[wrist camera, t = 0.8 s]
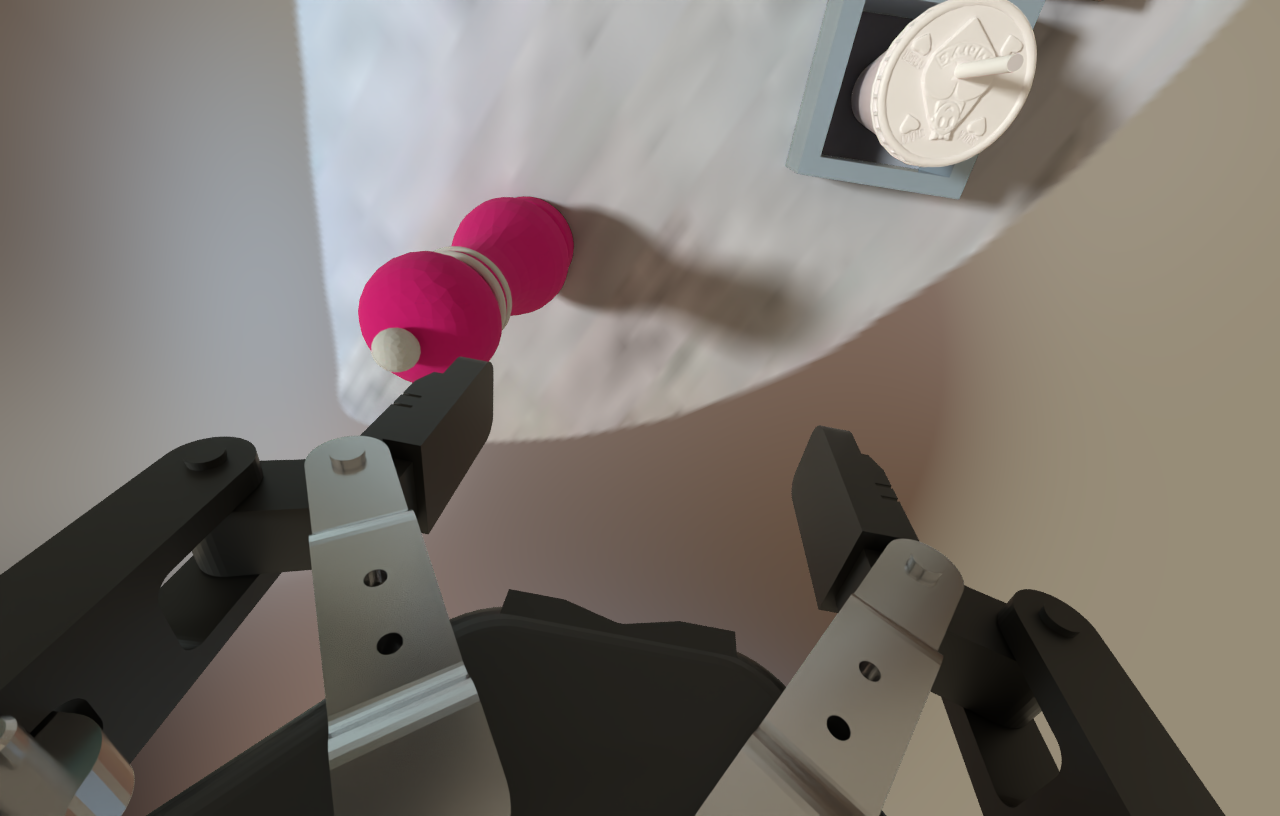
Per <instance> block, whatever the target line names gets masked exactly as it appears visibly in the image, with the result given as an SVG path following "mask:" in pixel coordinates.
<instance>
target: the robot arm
mask: <svg viewBox="0 0 1280 816" xmlns="http://www.w3.org/2000/svg"><path fill="white" fill-rule="evenodd" d="M492 421H493V365H492V363H491V362H487V361H482V360H477V359H472V358H466V357H458V358H457V359H456V360H455V361H454V362H453V363H452V364H451V365H450V366H449V368H448V369H447V370H446V371H445V372H444V373H438V372H433V373H431V374H428V375H426V376H424V377H422V378H420V379H417V380H415V381H414V382H413V383H412V384H411V385H410V386H409V387H408V388H407V389H406V390H405V391H404V394H403V395H400V396H399V397H398V398H397V399H396V400H395V401H394V404H393V405H392V404H391V405H390V406H389V407H388V408H387V409H386V410H385V411H384V412H383V413H382V414H381V415H380V416H379V417H378V418H377V419H376V420H375V421H374V422H373V423H372V424H371V425H370V426H369V427H368V428H367V429H366V430H365V431H364V432H363V433H362V434H361V435H360V436H347V437H341V438H337V439H334V440H330V441H328V442H326V443H323V444H321V445H320V446H318V447H316V448H315V449H314V450H313V451H311V452H310V454H309V455H308V456H307V458H306V459H303V460H271V461H259V458H258V454H257V451H256V448H255V447H254V445H253V444H252V443H250V442H249V441H247V440H244V439H241V438H236V437H212V438H206V439H202V440H197V441H194V442H191V443H188V444H185V445H182V446H180V447H178V448H176V449H174V450H172V451H171V452H169V453H167V454H166V455H164V456H163V457H162V458H161V459H159V460H158V461H156V462H155V463H154V464H152V465H151V466H149V467H148V468H147V469H145V470H144V471H142V472H141V473H140V474H138V475H137V476H136V477H134V478H133V479H131V480H130V481H129V482H128V483H126V484H125V485H123V486H122V487H120V488H119V489H118V490H116V491H115V492H114V493H112V494H111V495H110V496H108V497H107V498H105V499H104V500H103V501H101V502H100V503H99V504H97V505H96V506H94V507H93V508H92V509H91V510H89V511H88V512H86V513H85V514H83V515H82V516H81V517H79V518H78V519H77V520H75V521H74V522H73V523H71V524H70V525H68V526H67V527H66V528H64V529H63V530H61V531H60V532H59V533H57V534H56V535H55V536H53V537H52V538H51V539H49V540H48V541H46V542H45V543H44V544H42V545H41V546H40V547H38V548H37V549H35V550H34V551H33V552H31V553H30V554H29V555H27V556H26V557H25V558H23V559H22V560H20V561H19V562H18V563H16V564H15V565H14V566H12V567H11V568H10V569H8V570H7V571H5V572H4V573H2V574H1V575H0V816H121V815H122V814H123V812H124V811H125V809H126V807H127V805H128V803H129V800H130V798H131V795H132V792H133V788H134V779H135V778H134V773H133V769H132V767H131V766H130V763H131V762H132V761H133V759H134V758H135V757H136V756H137V754H138V753H139V752H140V751H141V749H142V748H143V747H144V745H145V744H146V743H147V742H148V741H149V739H150V738H151V737H152V735H153V734H154V733H155V732H156V730H157V729H158V728H159V727H160V725H161V724H162V723H163V721H164V720H165V719H166V718H167V716H168V715H169V714H170V713H171V711H172V710H173V709H174V708H175V706H176V705H177V704H178V702H179V701H180V700H181V699H182V698H183V696H184V695H185V694H186V693H187V691H188V690H189V689H190V687H191V686H192V685H193V684H194V682H195V681H196V680H197V679H198V677H199V676H200V675H201V674H202V672H203V671H204V670H205V669H206V667H207V666H208V665H209V664H210V662H211V661H212V660H213V658H214V657H215V656H216V655H217V653H218V652H219V651H220V650H221V648H222V647H223V646H224V645H225V643H226V642H227V641H228V640H229V638H230V637H231V636H232V634H233V633H234V632H235V630H236V629H237V628H238V627H239V625H240V624H241V623H242V622H243V621H244V619H245V618H246V617H247V616H248V614H249V613H250V612H251V611H252V609H253V608H254V607H255V605H256V604H257V603H258V602H259V600H260V599H261V598H262V597H263V595H264V594H265V593H266V591H267V590H268V589H269V588H270V586H271V585H272V584H273V583H274V581H275V580H276V579H277V578H278V576H279V575H280V574H281V573H282V572H289V571H301V570H312V576H313V585H314V595H315V603H316V613H317V622H318V632H319V641H320V651H321V660H322V670H323V678H324V687H325V699H324V700H322V701H321V702H319V703H318V704H316V705H315V706H313V707H312V708H310V709H308V710H307V711H305V712H304V713H303V714H301V715H300V716H298V717H296V718H295V719H293V720H292V721H290V722H289V723H287V724H286V725H284V726H282V727H281V728H279V729H278V730H276V731H275V732H273V733H272V734H270V735H269V736H267V737H266V738H264V739H263V740H261V741H259V742H258V743H257V744H255V745H254V746H252V747H250V748H249V749H247V750H246V751H244V752H243V753H241V754H240V755H238V756H237V757H235V758H234V759H232V760H230V761H229V762H227V763H226V764H224V765H223V766H221V767H220V768H218V769H217V770H215V771H214V772H212V773H211V774H209V775H207V776H206V777H204V778H203V779H201V780H200V781H198V782H197V783H195V784H194V785H192V786H191V787H189V788H188V789H186V790H184V791H183V792H181V793H180V794H179V795H177V796H175V797H174V798H172V799H171V800H169V801H168V802H166V803H165V804H163V805H162V806H160V807H158V808H157V809H156V810H154V811H152V812H151V813H149V814H148V815H146V816H886V815H885V814H884V812H883V811H882V808H883V805H884V803H885V800H886V798H887V795H888V793H889V791H890V788H891V786H892V783H893V781H894V778H895V776H896V773H897V771H898V768H899V766H900V764H901V761H902V759H903V756H904V754H905V752H906V749H907V747H908V744H909V742H910V739H911V737H912V734H913V732H914V730H915V727H916V724H917V722H918V720H919V717H920V715H921V712H922V710H923V708H924V705H925V703H926V700H927V698H928V695H929V693H930V691H931V692H933V693H935V694H937V695H939V696H941V697H942V700H943V703H944V706H945V709H946V712H947V714H948V717H949V720H950V723H951V726H952V729H953V731H954V734H955V737H956V740H957V742H958V745H959V748H960V751H961V754H962V756H963V759H964V762H965V765H966V768H967V771H968V773H969V776H970V779H971V782H972V785H973V788H974V790H975V793H976V796H977V799H978V802H979V805H980V807H981V810H982V813H983V816H1225V814H1224V813H1223V812H1222V810H1221V809H1220V807H1219V806H1218V804H1217V803H1216V801H1215V800H1214V799H1213V797H1212V796H1211V794H1210V793H1209V791H1208V790H1207V789H1206V788H1205V786H1204V784H1203V783H1202V781H1201V780H1200V779H1199V777H1198V776H1197V774H1196V773H1195V771H1194V770H1193V768H1192V767H1191V766H1190V764H1189V763H1188V761H1187V760H1186V758H1185V757H1184V756H1183V754H1182V753H1181V751H1180V750H1179V748H1178V747H1177V746H1176V744H1175V743H1174V741H1173V740H1172V738H1171V737H1170V736H1169V734H1168V733H1167V731H1166V730H1165V728H1164V727H1163V725H1162V724H1161V723H1160V721H1159V720H1158V718H1157V717H1156V715H1155V714H1154V712H1153V711H1152V710H1151V708H1150V707H1149V705H1148V704H1147V702H1146V701H1145V700H1144V698H1143V697H1142V696H1141V694H1140V692H1139V691H1138V690H1137V688H1136V687H1135V685H1134V684H1133V683H1132V681H1131V679H1130V678H1129V677H1128V675H1127V674H1126V672H1125V671H1124V669H1123V668H1122V667H1121V665H1120V664H1119V662H1118V661H1117V659H1116V658H1115V657H1114V655H1113V654H1112V652H1111V651H1110V649H1109V648H1108V646H1107V645H1106V644H1105V642H1104V641H1103V640H1102V638H1101V636H1100V635H1099V634H1098V632H1097V631H1096V630H1095V628H1094V627H1093V626H1092V625H1091V624H1090V623H1089V622H1088V621H1087V619H1085V618H1084V617H1083V616H1082V615H1081V614H1080V613H1078V612H1077V611H1076V610H1075V609H1073V608H1072V607H1070V606H1069V605H1068V604H1066V603H1064V602H1063V601H1061V600H1059V599H1057V598H1055V597H1053V596H1051V595H1049V594H1046V593H1044V592H1040V591H1037V590H1031V589H1028V590H1027V589H1024V590H1020V591H1018V592H1016V593H1015V595H1014V596H1013V597H1012V598H1011V599H1010V600H1009V601H1008V603H1004V602H1002V601H999V600H997V599H995V598H992V597H990V596H988V595H985V594H983V593H981V592H978V591H976V590H973V589H971V588H969V587H967V586H965V585H964V581H963V578H962V576H961V574H960V572H959V571H958V569H957V568H956V566H955V565H954V564H953V563H952V562H951V561H950V560H949V559H948V558H947V557H946V556H944V555H943V554H942V553H940V552H939V551H937V550H936V549H934V548H932V547H930V546H928V545H926V544H924V543H921V542H919V540H918V538H917V536H916V534H915V532H914V530H913V528H912V526H911V524H910V522H909V520H908V518H907V516H906V514H905V512H904V510H903V508H902V506H901V504H900V502H897V499H898V498H897V496H896V494H895V492H894V490H893V489H891V484H890V482H889V480H888V478H887V476H886V475H885V472H884V470H883V469H882V468H881V467H880V466H878V465H877V463H876V462H875V461H874V460H873V459H872V458H870V457H869V455H864V454H861V452H860V450H859V448H858V446H857V444H856V441H855V439H854V437H853V435H852V433H851V432H850V431H846V430H840V429H835V428H830V427H825V426H817V427H816V428H815V429H814V431H813V432H812V435H811V437H810V439H809V442H808V444H807V447H806V449H805V451H804V454H803V456H802V458H801V461H800V463H799V466H798V468H797V470H796V473H795V475H794V479H793V483H792V501H793V505H794V509H795V513H796V517H797V521H798V526H799V530H800V534H801V538H802V542H803V546H804V550H805V555H806V558H807V563H808V567H809V571H810V576H811V579H812V584H813V588H814V592H815V596H816V601H817V605H818V609H819V610H825V611H830V612H836V613H838V614H837V616H836V617H835V619H834V620H833V621H832V623H831V624H830V626H829V627H828V629H827V630H826V631H825V633H824V634H823V636H822V637H821V639H820V640H819V641H818V643H817V644H816V646H815V647H814V649H813V650H812V651H811V653H810V654H809V656H808V657H807V659H806V660H805V661H804V663H803V664H802V666H801V667H800V669H799V670H798V671H797V673H796V674H795V676H794V677H793V679H792V680H791V681H790V683H789V684H788V686H787V687H785V685H784V684H783V683H782V682H781V681H780V680H779V679H777V678H776V677H775V676H774V675H773V674H772V673H770V672H769V671H768V670H767V669H765V668H764V667H763V666H761V665H760V664H758V663H757V662H755V661H754V660H752V659H750V658H749V657H747V656H745V655H743V654H741V653H739V652H737V651H736V641H735V640H736V639H735V632H733V631H729V630H723V629H718V628H713V627H707V626H702V625H697V624H691V623H686V622H681V621H675V622H658V623H657V622H656V623H636V624H621V623H617V622H614V621H612V620H609V619H607V618H605V617H603V616H600V615H598V614H595V613H593V612H591V611H589V610H587V609H585V608H582V607H580V606H578V605H576V604H573V603H571V602H569V601H567V600H564V599H559V598H553V597H548V596H543V595H538V594H532V593H527V592H521V591H516V590H511V589H509V591H508V594H507V596H506V599H505V601H504V604H503V607H493V608H487V609H480V610H476V611H473V612H469V613H465V614H463V615H460V616H458V617H455V618H452V619H450V620H449V617H448V614H447V611H446V608H445V605H444V602H443V599H442V595H441V592H440V589H439V586H438V583H437V580H436V577H435V574H434V571H433V568H432V565H431V561H430V559H429V555H428V552H427V549H426V546H425V543H424V540H423V537H422V534H421V533H425V534H429V533H430V531H431V529H432V528H433V526H434V525H435V523H436V521H437V520H438V518H439V517H440V515H441V513H442V512H443V510H444V508H445V507H446V505H447V503H448V502H449V500H450V499H451V497H452V496H453V494H454V492H455V490H456V489H457V487H458V486H459V484H460V482H461V481H462V479H463V478H464V476H465V474H466V473H467V471H468V470H469V468H470V466H471V465H472V463H473V461H474V460H475V458H476V457H477V455H478V453H479V452H480V450H481V449H482V447H483V445H484V444H485V442H486V440H487V438H488V436H489V434H490V430H491V426H492ZM191 551H192V553H193V556H192V557H191V558H190V559H189V560H188V561H187V562H186V563H185V564H184V565H183V566H182V567H181V568H180V569H179V570H178V571H177V572H176V573H175V574H174V575H173V576H172V577H171V578H170V579H169V580H168V581H167V582H166V583H165V584H164V585H163V586H162V587H161V585H162V582H163V581H164V579H165V578H166V576H167V575H168V574H169V573H170V571H172V570H173V568H175V567H176V566H177V565H178V564H179V563H180V562H181V561H182V560H183V559H184V558H185V557H186V556H187V555H188V554H189V553H190V552H191ZM160 587H161V588H160ZM1041 711H1042V712H1043V714H1044V716H1045V718H1046V720H1047V722H1048V724H1049V726H1050V728H1051V730H1052V732H1053V733H1054V735H1055V737H1056V739H1057V742H1058V744H1059V746H1060V750H1061V756H1062V765H1061V770H1060V772H1059V770H1058V768H1057V766H1056V764H1055V762H1054V759H1053V757H1052V755H1051V753H1050V751H1049V749H1048V747H1047V745H1046V743H1045V741H1044V739H1043V737H1042V735H1041V733H1040V731H1039V729H1038V727H1037V725H1036V723H1035V721H1034V719H1033V718H1034V717H1035V716H1037V715H1038V714H1039V713H1040V712H1041Z"/></svg>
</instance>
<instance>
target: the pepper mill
mask: <svg viewBox="0 0 1280 816" xmlns="http://www.w3.org/2000/svg"><path fill="white" fill-rule="evenodd" d="M573 249H574V243H573V236H572V233H571V230H570V227H569V225H568V223H567V222H566V220H565V218H564V217H563V216H562V214H561V213H560V212H559V211H558V210H557V209H556V208H555V207H553V206H552V205H550V204H549V203H547V202H545V201H543V200H541V199H538V198H534V197H517V198H513V197H501V198H495V199H491V200H488V201H486V202H484V203H482V204H480V205H479V206H477V207H476V208H475V209H473V210H472V211H471V212H470V213H469V214H468V215H466V217H465V218H464V219H463V220H462V222H461V223H460V225H459V227H458V229H457V231H456V233H455V236H454V239H453V242H452V246H451V247H444V248H440V249H437V250H435V251H433V252H431V251H420V252H410V253H407V254H404V255H401V256H399V257H396V258H393V259H391V260H390V261H388V262H387V263H386V264H384V265H383V266H381V267H380V268H379V269H378V270H377V271H376V272H375V273H374V274H373V275H372V277H371V278H370V279H369V281H368V282H367V283H366V285H365V287H364V290H363V292H362V295H361V297H360V301H359V309H358V315H359V323H360V327H361V331H362V335H363V337H364V339H365V341H366V343H367V345H368V347H369V348H370V350H371V354H372V356H373V358H374V360H375V362H376V363H377V364H378V365H379V366H380V367H382V368H383V369H385V370H387V371H390V372H392V373H393V374H395V375H397V376H399V377H401V378H402V379H404V380H407V381H410V382H412V383H413V382H414V381H415V380H417V379H420V378H422V377H424V376H426V375H428V374H431V373H433V372H438V373H444V372H445V371H446V370H447V369H448V368H449V366H450V365H451V364H452V363H453V362H454V361H455V360H456V359H457V358H458V357H466V358H472V359H477V360H482V361H487V362H489V360H490V359H491V358H492V356H493V355H494V353H495V351H496V349H497V347H498V345H499V341H500V338H501V332H502V330H503V329H504V328H505V326H506V325H507V323H508V321H509V318H510V316H513V315H521V314H525V313H529V312H533V311H535V310H537V309H540V308H541V307H543V306H544V305H546V304H547V303H548V302H550V301H551V300H552V299H553V298H554V297H555V296H556V295H557V294H558V293H559V291H560V290H561V288H562V286H563V284H564V282H565V280H566V276H567V273H568V267H569V265H570V263H571V261H572V257H573Z"/></svg>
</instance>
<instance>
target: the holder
mask: <svg viewBox="0 0 1280 816" xmlns="http://www.w3.org/2000/svg"><path fill="white" fill-rule="evenodd" d="M945 1H947V0H828V2H827V6H826V10H825V14H824V18H823V22H822V26H821V30H820V33H819V37H818V41H817V45H816V49H815V53H814V57H813V61H812V64H811V68H810V72H809V76H808V80H807V84H806V88H805V92H804V95H803V99H802V103H801V107H800V111H799V115H798V119H797V123H796V126H795V130H794V134H793V138H792V142H791V146H790V150H789V154H788V158H787V161H786V165H785V166H786V167H787V168H789V169H790V170H792V171H794V172H795V173H797V174H802V175H808V176H814V177H821V178H827V179H833V180H840V181H846V182H852V183H858V184H865V185H871V186H877V187H884V188H890V189H896V190H902V191H909V192H915V193H921V194H927V195H934V196H940V197H946V198H953V199H960V196H961V194H962V192H963V189H964V187H965V185H966V182H967V180H968V178H969V175H970V173H971V171H972V169H973V166H974V164H975V162H976V159H977V157H978V155H979V153H978V154H977V155H975V156H973V157H971V158H969V159H967V160H964V161H962V162H959V163H956V164H953V165H948V166H942V167H919V169H913V168H907V167H900V166H894V165H888V164H881V163H875V162H869V161H862V160H856V159H850V158H844V157H837V156H831V155H825V154H821V153H822V150H823V146H824V143H825V139H826V136H827V132H828V129H829V125H830V122H831V118H832V115H833V111H834V108H835V104H836V101H837V98H838V94H839V91H840V87H841V84H842V80H843V77H844V73H845V70H846V66H847V63H848V59H849V56H850V52H851V49H852V46H853V42H854V39H855V35H856V32H857V28H858V25H859V21H860V18H861V14H862V11H864V12H871V13H877V14H884V15H890V16H897V17H903V18H910V19H916V18H917V17H918V16H920V15H921V14H922V13H924V12H925V11H926V10H928V9H929V8H931V7H933V6H936V5H938V4H940V3H943V2H945ZM1008 1H1010V2H1011V3H1013V4H1014V5H1015V6H1017V7H1018V8H1019V9H1020V10H1021V11H1022V12H1023V14H1024V15H1025V16H1026V18H1027V19H1028V21H1029V23H1030V25H1031V27H1032V30H1033V28H1034V26H1035V23H1036V21H1037V19H1038V16H1039V14H1040V12H1041V10H1042V7H1043V5H1044V3H1045V0H1008Z"/></svg>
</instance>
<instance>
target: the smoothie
mask: <svg viewBox="0 0 1280 816" xmlns="http://www.w3.org/2000/svg"><path fill="white" fill-rule="evenodd" d="M1036 63H1037V48H1036V41H1035V36H1034V33H1033V30H1032V27H1031V25H1030V23H1029V21H1028V19H1027V18H1026V16H1025V15H1024V14H1023V12H1022V11H1021V10H1020V9H1019V8H1018V7H1017V6H1015V5H1014V4H1013V3H1011V2H1010V1H1008V0H947V1H945V2H943V3H940V4H938V5H936V6H933V7H931V8H929V9H928V10H926V11H925V12H924V13H922V14H921V15H920V16H918V17H917V18H916V19H914V20H913V21H911V22H910V23H909V24H908V25H907V26H906V27H905V28H904V30H903V31H902V32H901V33H900V34H899V35H898V36H897V37H896V39H895V40H894V41H893V42H892V44H891V45H890V47H889V49H888V50H887V51H885V52H884V53H883V54H882V55H880V56H879V57H878V58H877V59H876V60H874V61H873V62H872V63H871V64H869V65H868V66H867V67H866V68H865V69H864V70H863V71H862V72H861V74H860V75H859V77H858V78H857V80H856V82H855V85H854V87H853V91H852V96H851V106H852V111H853V113H854V116H855V117H856V119H857V120H858V121H859V122H860V123H861V124H862V125H863V126H865V127H866V128H867V129H869V130H870V131H872V132H873V133H874V134H876V135H877V137H878V140H879V142H880V144H881V145H882V146H883V147H884V148H885V149H886V150H887V151H888V153H889V154H890V155H891V156H892V157H894V158H896V159H898V160H900V161H902V162H903V163H905V164H908V165H914V166H919V167H942V166H948V165H953V164H956V163H959V162H962V161H964V160H967V159H969V158H971V157H973V156H975V155H977V154H978V153H980V152H982V151H983V150H984V149H986V148H987V147H989V146H990V145H991V144H992V143H993V142H995V141H996V140H997V139H998V138H999V137H1000V136H1001V135H1002V134H1003V133H1004V132H1005V131H1006V130H1007V129H1008V127H1009V126H1010V125H1011V124H1012V122H1013V121H1014V120H1015V118H1016V117H1017V115H1018V114H1019V112H1020V110H1021V109H1022V107H1023V105H1024V103H1025V101H1026V99H1027V97H1028V94H1029V92H1030V89H1031V86H1032V83H1033V80H1034V75H1035V71H1036Z"/></svg>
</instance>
